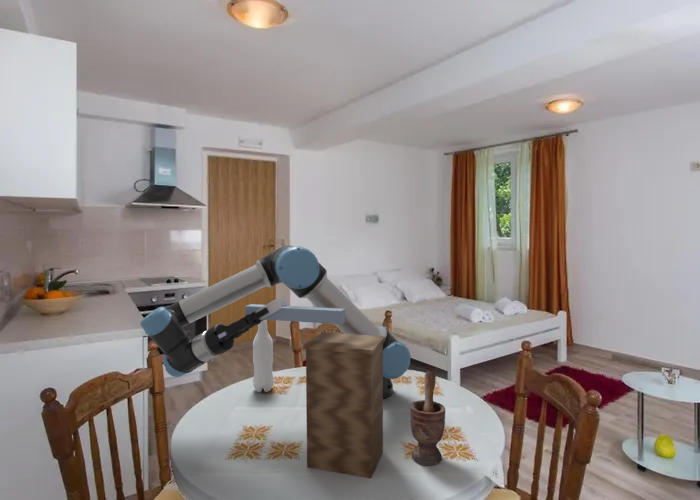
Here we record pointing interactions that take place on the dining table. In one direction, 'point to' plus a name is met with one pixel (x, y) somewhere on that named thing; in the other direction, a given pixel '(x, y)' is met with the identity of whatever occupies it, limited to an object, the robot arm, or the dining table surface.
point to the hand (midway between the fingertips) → (282, 302)
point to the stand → (344, 402)
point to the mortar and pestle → (427, 425)
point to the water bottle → (263, 359)
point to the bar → (303, 314)
